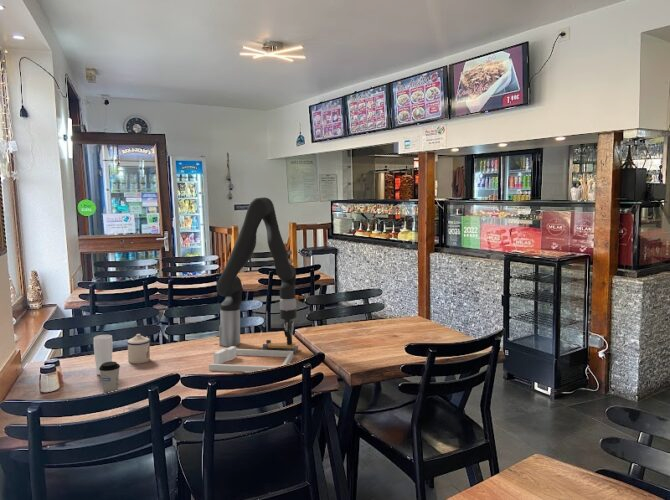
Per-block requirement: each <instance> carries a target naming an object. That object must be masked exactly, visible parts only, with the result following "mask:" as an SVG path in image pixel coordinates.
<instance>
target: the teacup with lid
mask: <svg viewBox="0 0 670 500" xmlns="http://www.w3.org/2000/svg"><path fill="white" fill-rule="evenodd" d="M150 342H151V340H150V338H149V337H145V336H143V335H141V333H136V335H135V336H133V337H132V338H130V339H128V340H127V357H128V358H127V360H128V363H129V364H134V365H137V364H144V363H147V362H149V361H150V360H151V359H150V357H151V356H150V355H151V354H150Z"/></svg>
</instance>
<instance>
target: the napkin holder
mask: <svg viewBox="0 0 670 500" xmlns="http://www.w3.org/2000/svg"><path fill="white" fill-rule="evenodd" d="M236 349H237V346H228V347H227V348H226V347H224V348H222V349H219V350H217V351H215V352H213V364H224V363H225V362H227V361H232V360H234V359H236V358H237V355H236Z"/></svg>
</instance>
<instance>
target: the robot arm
mask: <svg viewBox="0 0 670 500" xmlns="http://www.w3.org/2000/svg"><path fill="white" fill-rule="evenodd" d="M275 210H276V209H275V205H274V203H273V201H272V200H271V199H270V198H269V197H264V196H263V197H256V198H254V199H252V200H251V201H250V202H249V203H248V207H247V210H246V214H245V216H244V221H243V223H242V225H241V228H240V230H239V232H238V236H237V237H236V240H235V243H234V246H233V247H232V251H231V253H230V256H229V258H228V260H227V263H226V265H225V267H224V269H223V271H222V273H221V274H220V276H219V278H218V280H217V281H216V292H217V294H218V295H219V296H221V297H225V298H224V300H223V301H222V302H221V303H220V305H219V306H220V307H219V308H220V309H219V311H220V317H219V318H220V325H219V326H218V336H219V337H218V339H219V341H218V343H219V346H223V347H231V346H234V347H237V346H239V345H240V344H241V304H242V298H243V297H242V296H243V284H242V283H243V282H242V280H241V279H240V277H239V276H238V275H239V272H240V271H241V270H242V269H243V268H244V267H245V265H247V263H248V262H249V260H250V259H251V258H252V256H253V254H254V251H255V249H256V245H257V232H258V229H259V226H260V224H261V222H262V221H263V223H264V225H265V228H266V234H267V236H266V237H267V246H268V249H269V251H270V254H271V257H272V259H273V263H274V268H275V272H276V275H277V277H278V278H279V280H281V285H280V287H279V313H280V314H279V315H280V316H279V317H280V319H281V320H284V322H283V332H284V333H283V334H284V337H285V338H286V343H287V345H292V342H293V334H294V327H295V322H294V319H296V318H297V316H298V315H297V313H298V312H297V300H296V280H297V272H296V271H297V270H296V267H295V266H294V265H293V264H291V263H290V262H289V260H288V256H289V254H288V251H287V247H286V245H285V242H284V241H283V237H282V236H281V235H282V234H281V230H280V228H279V224H278V219H277V214H276V211H275Z"/></svg>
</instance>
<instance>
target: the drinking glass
mask: <svg viewBox="0 0 670 500" xmlns="http://www.w3.org/2000/svg"><path fill="white" fill-rule="evenodd" d="M113 344H114V343H113V335H111V334H100V335H98V334H97V335H96V336H94V337H93V353H94V360H95V367H96V374H97V375H98V376H101V374H100V370H99V367H100V366H101V365H102V364H103V363H105V362H112V361H113V360H112V359H113Z"/></svg>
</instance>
